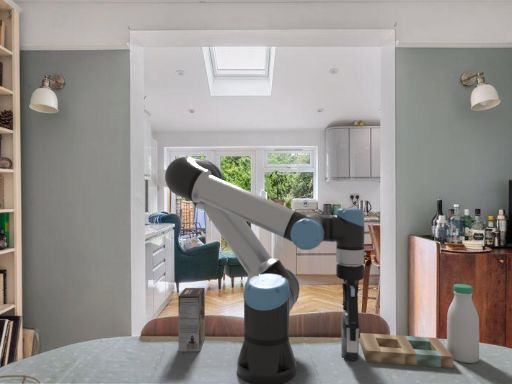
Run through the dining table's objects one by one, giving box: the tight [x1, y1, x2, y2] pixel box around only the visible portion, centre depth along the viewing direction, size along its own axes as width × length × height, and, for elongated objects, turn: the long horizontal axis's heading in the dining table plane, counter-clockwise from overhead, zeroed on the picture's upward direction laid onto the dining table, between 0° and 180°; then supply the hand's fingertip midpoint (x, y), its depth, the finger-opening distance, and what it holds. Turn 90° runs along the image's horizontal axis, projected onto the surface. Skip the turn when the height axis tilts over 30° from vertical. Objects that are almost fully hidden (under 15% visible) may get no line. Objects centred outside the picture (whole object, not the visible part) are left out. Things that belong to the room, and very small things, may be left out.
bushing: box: [341, 310, 360, 362], centre depth 98 cm, size 5×5×12 cm
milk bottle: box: [446, 283, 480, 364], centre depth 98 cm, size 8×8×20 cm
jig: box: [359, 332, 454, 369], centre depth 99 cm, size 22×12×3 cm, turn 81°
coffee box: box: [177, 287, 206, 352], centre depth 105 cm, size 9×6×16 cm
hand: (350, 342), depth 98 cm, fingers open, 11 cm apart
